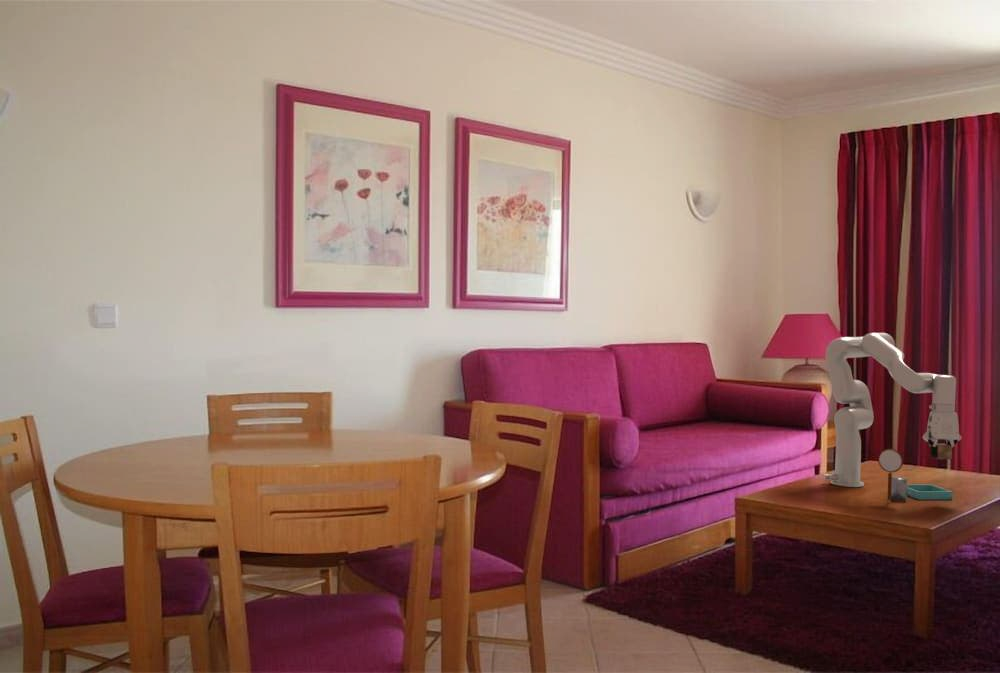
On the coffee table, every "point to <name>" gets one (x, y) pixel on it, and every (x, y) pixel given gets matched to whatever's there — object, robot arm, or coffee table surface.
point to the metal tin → (899, 488)
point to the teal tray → (928, 492)
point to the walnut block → (944, 451)
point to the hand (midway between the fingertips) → (941, 456)
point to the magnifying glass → (890, 465)
